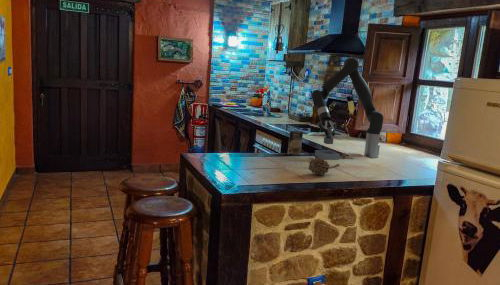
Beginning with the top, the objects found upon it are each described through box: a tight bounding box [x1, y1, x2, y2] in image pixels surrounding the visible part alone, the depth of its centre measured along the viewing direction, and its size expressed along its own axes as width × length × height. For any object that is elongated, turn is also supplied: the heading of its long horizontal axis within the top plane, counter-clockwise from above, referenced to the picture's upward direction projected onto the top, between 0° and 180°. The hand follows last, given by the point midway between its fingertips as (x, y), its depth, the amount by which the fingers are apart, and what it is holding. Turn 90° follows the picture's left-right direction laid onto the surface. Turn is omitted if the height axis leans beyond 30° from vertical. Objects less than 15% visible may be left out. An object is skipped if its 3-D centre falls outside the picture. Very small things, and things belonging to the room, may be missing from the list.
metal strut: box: [323, 127, 334, 145], centre depth 278 cm, size 4×4×10 cm
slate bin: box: [314, 149, 341, 162], centre depth 281 cm, size 12×13×5 cm
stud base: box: [339, 152, 354, 160], centre depth 285 cm, size 11×11×5 cm
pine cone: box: [308, 157, 340, 176], centre depth 238 cm, size 22×10×10 cm, turn 124°
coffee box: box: [287, 130, 304, 156], centre depth 290 cm, size 9×6×16 cm
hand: (330, 135), depth 276 cm, fingers closed on metal strut, 4 cm apart
